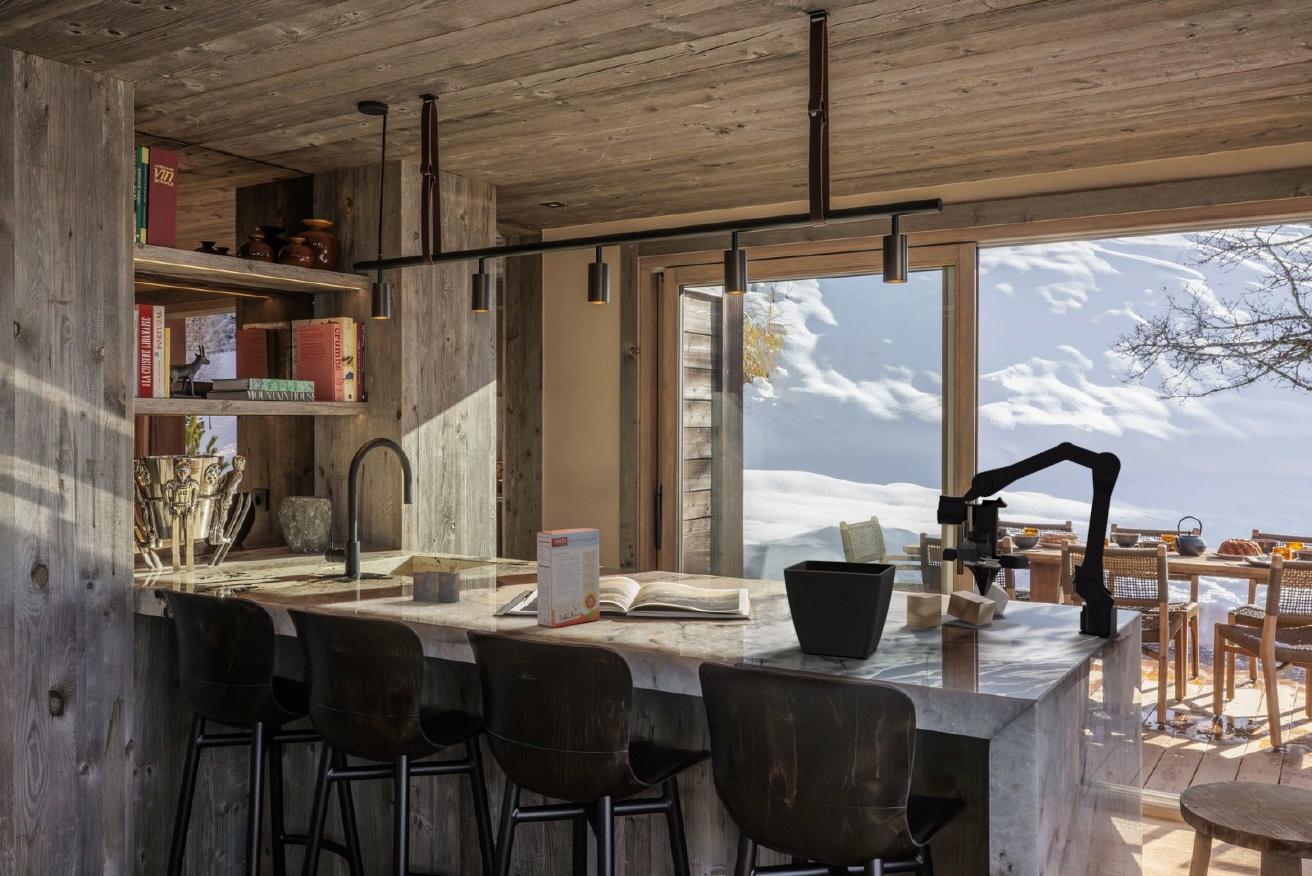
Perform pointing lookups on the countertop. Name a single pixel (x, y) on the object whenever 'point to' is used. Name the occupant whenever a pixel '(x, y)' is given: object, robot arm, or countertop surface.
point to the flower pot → (839, 605)
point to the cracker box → (567, 576)
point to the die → (995, 597)
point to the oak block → (924, 609)
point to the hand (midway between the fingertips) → (983, 595)
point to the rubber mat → (988, 627)
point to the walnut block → (971, 607)
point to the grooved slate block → (436, 586)
